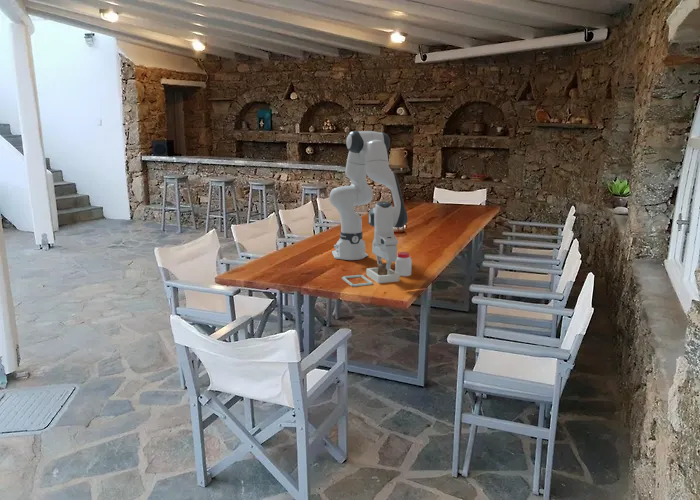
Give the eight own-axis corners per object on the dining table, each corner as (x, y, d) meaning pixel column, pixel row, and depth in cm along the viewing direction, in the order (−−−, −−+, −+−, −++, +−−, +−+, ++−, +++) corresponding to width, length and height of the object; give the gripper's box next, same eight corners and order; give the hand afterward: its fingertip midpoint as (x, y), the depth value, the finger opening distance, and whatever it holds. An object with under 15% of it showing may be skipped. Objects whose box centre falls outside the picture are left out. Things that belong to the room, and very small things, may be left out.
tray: (341, 279, 248) (341, 276, 248) (361, 277, 252) (361, 274, 251) (352, 288, 236) (352, 284, 235) (373, 286, 239) (373, 282, 239)
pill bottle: (410, 273, 260) (410, 251, 257) (412, 277, 252) (412, 255, 249) (394, 273, 259) (394, 251, 257) (396, 277, 252) (396, 255, 249)
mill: (376, 277, 250) (376, 263, 249) (384, 276, 251) (385, 262, 250) (380, 279, 246) (380, 266, 245) (388, 278, 247) (388, 265, 246)
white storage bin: (366, 276, 254) (366, 268, 253) (386, 274, 257) (386, 266, 256) (378, 285, 241) (378, 276, 240) (399, 282, 244) (399, 274, 243)
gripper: (368, 234, 253) (369, 262, 256) (386, 242, 234) (386, 272, 237) (381, 233, 255) (381, 261, 258) (399, 241, 236) (399, 271, 239)
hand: (383, 267), depth 247 cm, fingers open, 8 cm apart
